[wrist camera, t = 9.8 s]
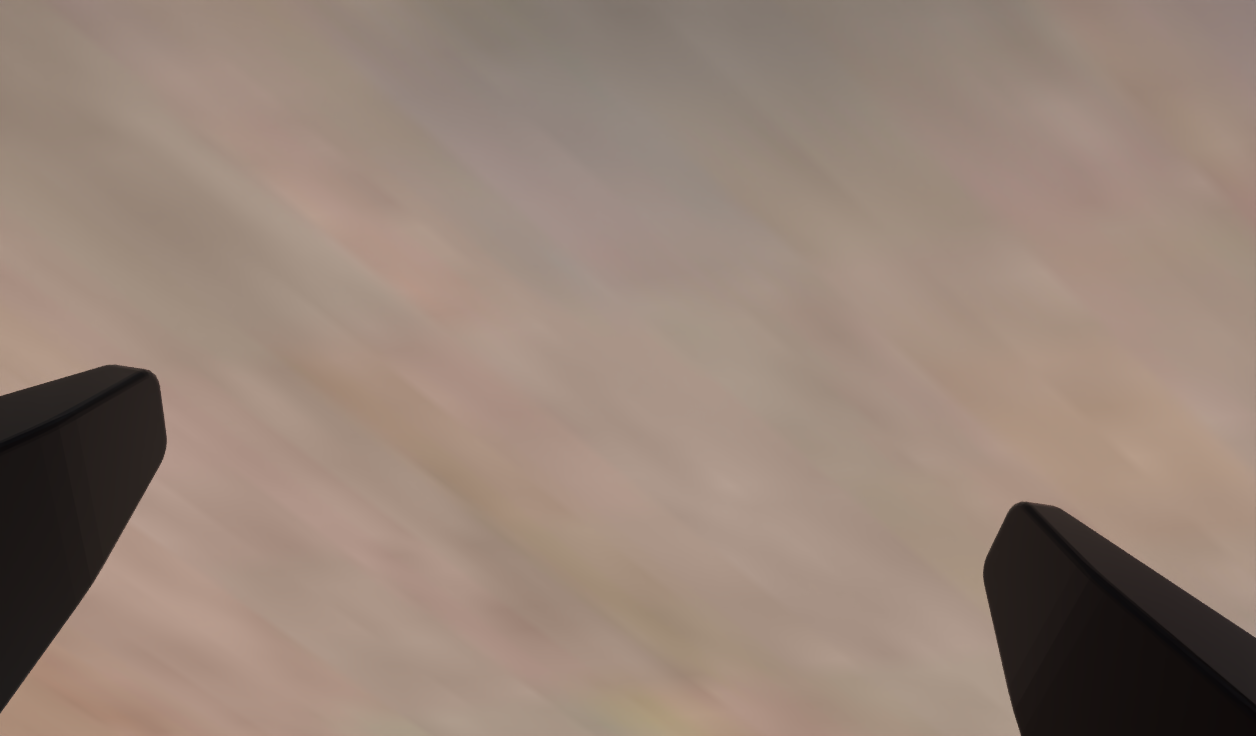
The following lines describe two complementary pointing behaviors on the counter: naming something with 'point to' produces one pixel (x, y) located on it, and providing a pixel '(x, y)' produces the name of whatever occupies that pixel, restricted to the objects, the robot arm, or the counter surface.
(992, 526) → the counter surface
